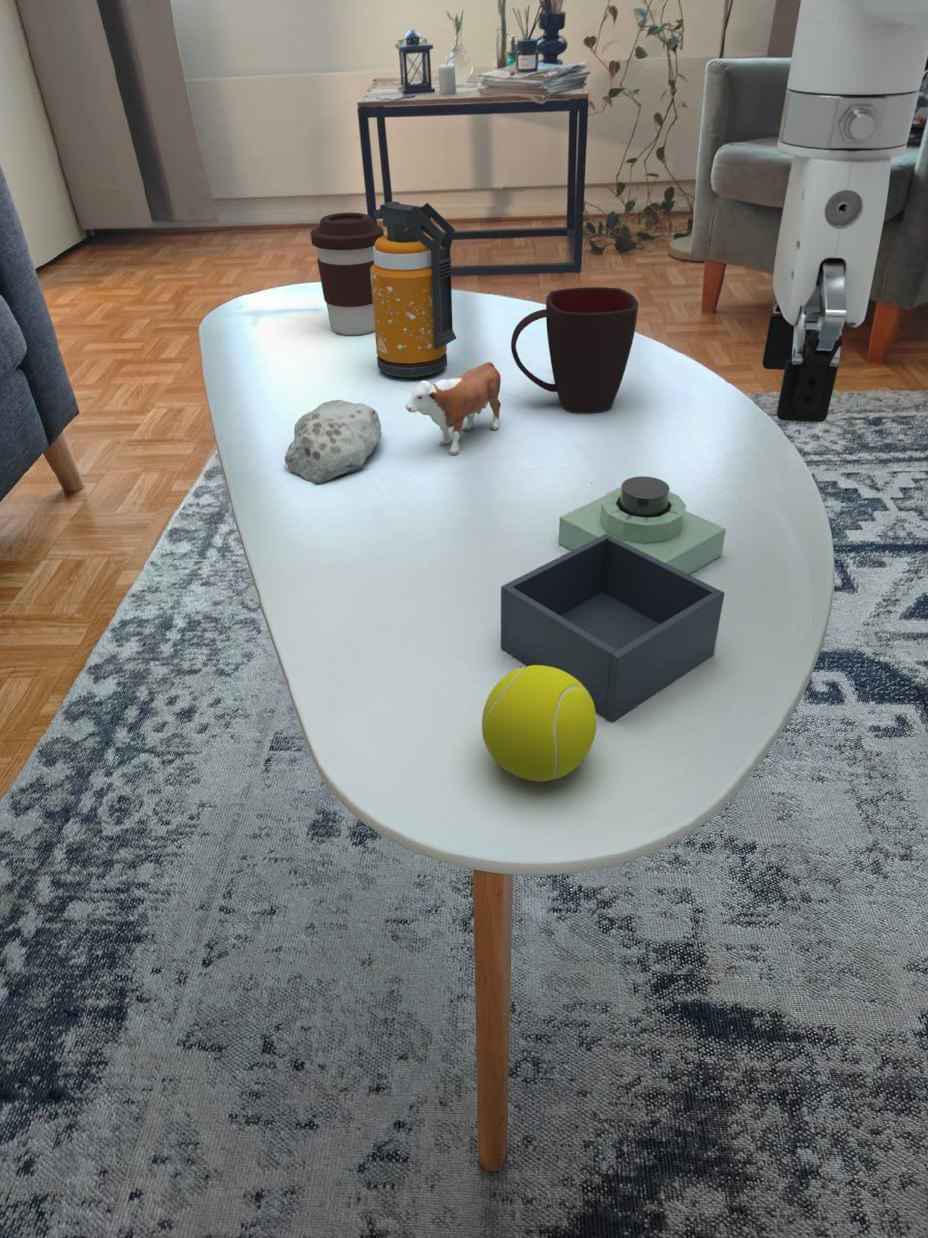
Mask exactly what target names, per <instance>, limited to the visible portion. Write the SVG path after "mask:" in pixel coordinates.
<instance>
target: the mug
mask: <svg viewBox="0 0 928 1238" xmlns="http://www.w3.org/2000/svg"><path fill="white" fill-rule="evenodd" d="M638 313H639V301H638V299H637V298H636V297H635V296H634V295H633V294H632V293H630V292H629V291H626V290H625V289H622V288H619V287H607V286H606V287H605V286H593V287H592V286H589V287H585V286H584V287H571V288H564V289H563V288H562V289H557V290H553V291H552V290H551V291H550V292H549V293H548V295H547V296H546V299H545V308H543V309H539V310H536V311H534V312H531V313H529V314H528V315H526V316H524V318H522V319H521V320H520V321H519V322H518V323H517V324H516V326H515V328H514V330H513V332H512V336H511V341H510V350H511V354H512V358H513V360H514V362H515V364H516V366H517V367H518V369H519V370H520V371H521V373H523V374H524V376H525V377H527V378H528V379H529V380H530V381H531V382H533V383H534V384H535V385H537V386H538V387H540V388H542V389H543V390H545V391H548V392H551V393H557V397H558V400H559V401H558V402H559V403H560V405H561V407H562V408H563V409H564V410H566V411H567V412H568V413H576V414H577V413H578V414H591V413H602V412H606V411H609V410H610V409H611V408H612V407H613V404H614V403H615V400H616V397H617V395H618V392H619V390H620V388H621V384H622V381H623V379H624V374H625V371H626V368H627V364H628V362H629V361H628V360H629V357H630V353H631V350H632V346H633V340H634V337H635V332H636V326H637V320H638ZM544 318H545V322H546V334H547V335H546V337H547V344H548V350H549V358H550V365H551V371H552V376H553V381H554V383H549V382H546V381H544V380H542V379H540V378H538V377H537V376H536V375H535V374H533V373H532V372H530V371H529V370H528V369H527V367H526V366H525V365H524V364H523V362H522V361H521V359H520V357H519V354H518V351H517V342H518V339H519V337H520V334H521V333H522V331H524V329H525V328H527V327H528V326H529V325H530V324H531V323H533V322H536V321H538V320H540V319H541V320H542V319H544Z"/></svg>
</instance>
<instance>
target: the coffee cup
mask: <svg viewBox="0 0 928 1238" xmlns="http://www.w3.org/2000/svg"><path fill="white" fill-rule="evenodd" d="M384 235H385V232H384V228H383V226H381V225H379V224H376V223H374V221H373V219H372V217H371V216H370V215H369V214H367V213H363V212H337V213H332V214H331V213H330V214H327V215H324V216H322V217H321V219H320V221H319V224H318V226H317V227H315V228H313V229H312V230H311V231H310V242H311V245H312V246H313V247H316V252H317V259H316V260H317V266H318V272H319V273H318V274H319V278H320V284H321V289H322V295H323V300H324V302H325V303H326V309H327V314H328V320H329V327H330V329H331V330H332V331H333V332H334V333H336V334H339V335H344V336H359V335H360V336H361V335H366V334H371V333H375V325H374V312H373V300H372V287H371V274H370V268H371V267H372V265H373V264H374V252H373V247H374V246H375V242H376V240H377V239H378V238H380V237H382V236H384Z"/></svg>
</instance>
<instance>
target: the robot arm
mask: <svg viewBox="0 0 928 1238" xmlns="http://www.w3.org/2000/svg"><path fill="white" fill-rule="evenodd" d="M927 61H928V0H800V4H799V10H798V17H797V22H796V28H795V34H794V41H793V46H792V52H791V60H790V65H789V71H788V77H787V78H788V79H787V85H786V88H787V89H786V90H785V96H784V102H783V108H782V113H781V120H780V126H779V132H778V139H777V146H776V150H777V151H778V152H780V153H782V154H785V155H789V156H792V161H791V167H790V172H789V174H788V182H787V187H786V192H785V198H784V203H783V209H782V214H781V220H780V226H779V232H778V237H777V244H776V251H775V259H774V267H773V276H772V288H773V293H774V296H775V297H774V301H773V309H772V310H773V313H770V315H769V317H770V318H769V322H768V327H767V333H766V339H765V345H764V351H763V355H762V366H763V368H764V369H766V370H784V371H783V376H782V382H781V387H780V391H779V397H778V403H777V408H776V416H777V419H778V420H780V421H786V422H808V423H809V422H810V423H823V422H824V421H826V419H827V418H828V414H829V409H830V405H831V400H832V396H833V392H834V387H835V383H836V378H837V374H838V369H839V365H840V364H839V363H840V359H841V351H842V350H841V349H842V345H843V342H844V341H843V338H844V337H843V336H842V333H843V328H844V326H845V323H847V324H848V326H849V328H857V327H859V326H860V325H861V324H862V323H863V322H864V321H865V318H866V314H867V311H868V305H869V299H870V296H871V291H872V290H871V288H872V285H873V279H874V275H875V274H874V273H875V269H876V265H877V259H878V253H879V249H880V242H881V238H882V232H883V226H884V220H885V216H886V215H885V214H886V208H887V202H888V194H889V187H890V177H891V169H892V168H891V166H892V158H897V157H900V156H901V157H902V156H903V155H904V154H905V153H906V150H907V145H908V141H909V137H910V133H911V130H912V129H911V128H912V126H913V125H912V124H913V121H914V117H915V112H916V107H917V104H918V101H919V95H920V89H921V86H922V82H923V78H924V73H925V69H926V65H927Z"/></svg>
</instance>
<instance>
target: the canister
mask: <svg viewBox="0 0 928 1238" xmlns="http://www.w3.org/2000/svg"><path fill="white" fill-rule="evenodd" d="M372 213H373V216H374V218H375V219H376V220H382V227H387V228H390V229H389V231H388V234H384V236H382V237H380V238H378V239H377V240H376V242H375V246H374V247H373V252H374V264H373V265H372V267H371V268H370V274H371V287H372V300H373V312H374V325H375V331H374V334H375V335H374V336H375V349H376V355H377V356H376V362H377V368H378V369H379V371H381V372H383V373H385V374H387V375H391V376H394V377H397V378H402V379H403V378H404V379H418V378H424V377H428V376H431V375H433V374H435V373H438V372H440V371H442V370H443V369H445V368H446V367H447V366H448V353H447V350H448V345H449V343H451V342H453V341H455V340H456V339H457V335H456V334H455V331H454V330H453V325H454V324H453V297H452V296H453V295H452V293H453V292H452V291H453V290H452V275H453V273H452V258H451V247H452V245H453V239H454V236H455V232H456V228H454V227H453V225H452V224H450V223H449V222H448V221H447V220H446V219H445V218H444V217H443V216H442V215H441V214H440V213H439V212H438V211H437V210H436V209H435V208H434V207H433V206H432V205H431V204H429V202H426V203H425V204H423V205H422V206H420V205H413V204H407V203H406V204H405V203H400V201H394V200H393V201H390V202H386V203H381V204H380V206H379V208H378V209H375V210H373V212H372ZM432 220H433V221H434V222H435V223H436V224H437V225H438V226H439V227H440V228H439V227H438V226H437V225H436V224H435V223H434V222H433V221H432ZM442 230H443V231H444V232H445V233H444V232H443V231H442Z"/></svg>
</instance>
